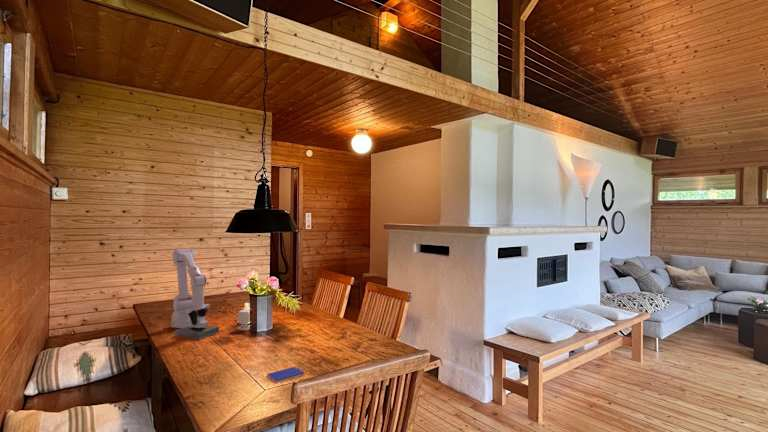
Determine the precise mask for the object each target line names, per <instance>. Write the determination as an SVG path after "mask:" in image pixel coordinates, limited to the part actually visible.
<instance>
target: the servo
mask: <svg viewBox="0 0 768 432" xmlns="http://www.w3.org/2000/svg"><path fill="white" fill-rule="evenodd" d="M187 322H189V327H195V328H202V327H205V325H207V323H209V320H206V316H205V317H203V316H197V323H196V325H192V322H191V319H190V318H189V320H187Z"/></svg>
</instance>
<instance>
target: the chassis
mask: <svg viewBox="0 0 768 432" xmlns="http://www.w3.org/2000/svg"><path fill="white" fill-rule="evenodd" d="M219 331H220V326H216V325H215V326H214V325H209V324H205V327H202V328H195V327H189V326H187V327H184V328H177V329H175V330H174V337H178V338H184V339H185V338H186V339H190V340H191V339H192V340H197V341H198V340H199V341H200V340H202V339H205V338H207V337H211V336H212V335H215V334H218V333H220V332H219Z"/></svg>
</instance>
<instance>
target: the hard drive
mask: <svg viewBox="0 0 768 432" xmlns="http://www.w3.org/2000/svg"><path fill="white" fill-rule="evenodd" d="M304 375H305V371H303V370H301V369H300V368H298V367H296V366H291V367H289V368H284V369H280V370H278V371H274V372H270V373H266V377H268V378H269V379H270V380H272V381H273V382H274V383H280V382H284V381H287V380H290V379H294V378H299V377H302V376H304Z"/></svg>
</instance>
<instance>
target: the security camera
mask: <svg viewBox="0 0 768 432" xmlns="http://www.w3.org/2000/svg"><path fill="white" fill-rule="evenodd" d="M250 310H251V309H247V308H246V309H245V308H243V309H242V310H239V311H238V312H237V320H236V321H237V323H239V324H240V326H238V327H237V328H236V329H237V331H248V330H250V329H251V328H250V326H251V325H249V323H250V322H251V321H250Z"/></svg>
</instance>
